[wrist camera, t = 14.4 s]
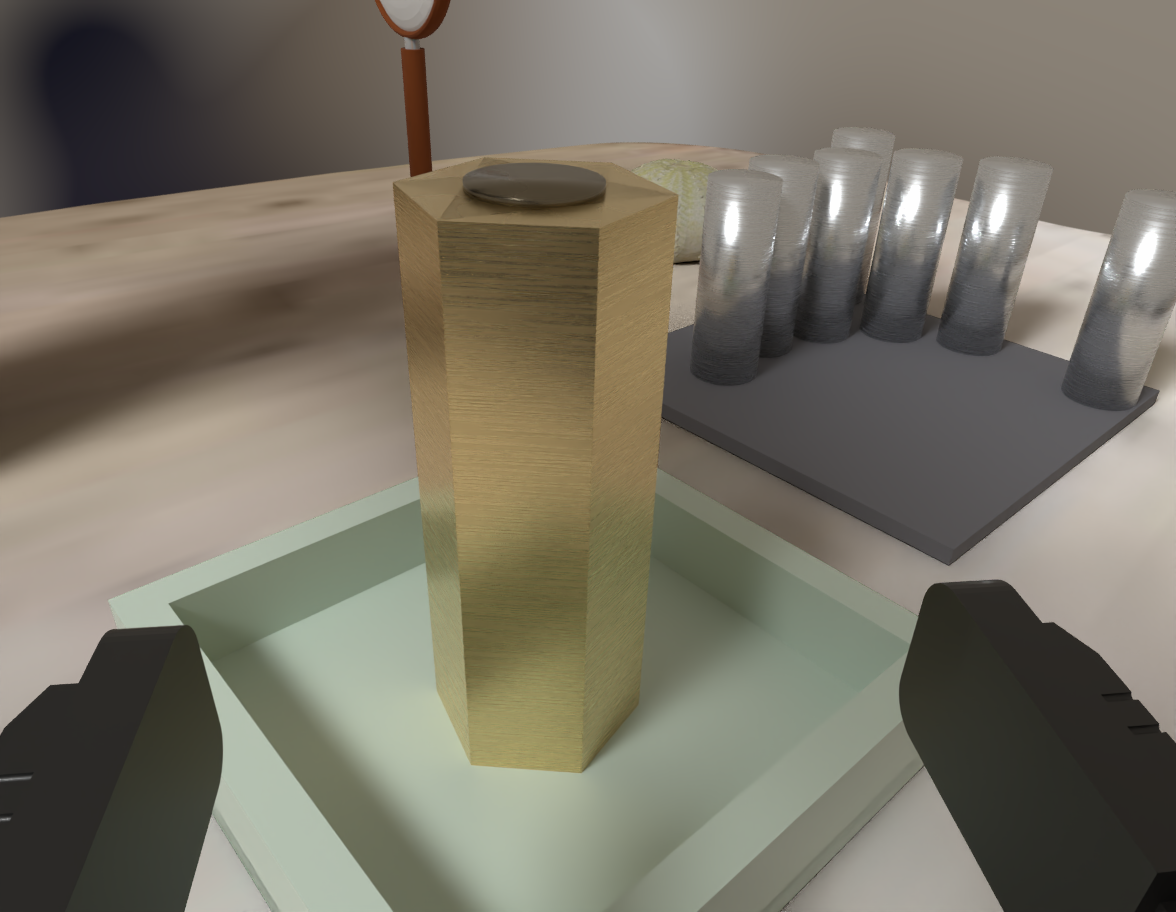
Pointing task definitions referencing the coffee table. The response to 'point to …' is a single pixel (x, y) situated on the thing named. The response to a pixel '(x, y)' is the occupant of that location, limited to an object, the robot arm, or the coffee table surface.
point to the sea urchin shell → (683, 200)
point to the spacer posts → (912, 262)
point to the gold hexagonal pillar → (536, 441)
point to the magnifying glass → (415, 69)
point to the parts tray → (535, 797)
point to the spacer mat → (901, 429)
